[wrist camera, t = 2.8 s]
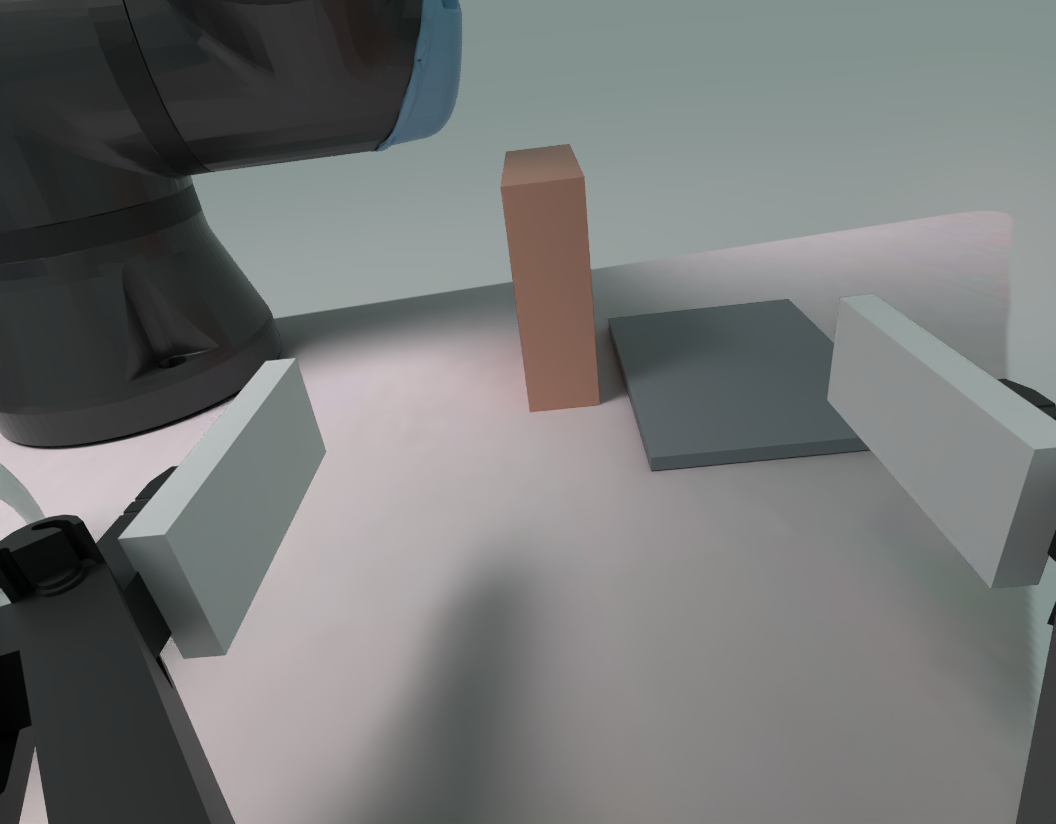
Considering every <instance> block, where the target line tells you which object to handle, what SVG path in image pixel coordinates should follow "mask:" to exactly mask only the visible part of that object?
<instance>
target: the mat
mask: <svg viewBox="0 0 1056 824" xmlns="http://www.w3.org/2000/svg"><path fill="white" fill-rule="evenodd" d="M608 321H609V331H610V334H611V337H612V341H613V344H614V347H615V351H616V354H617V357H618V361H619V364H620V367H621V371H622V374H623V378H624V381H625V384H626V388H627V391H628V394H629V398H630V401H631V404H632V408H633V411H634V415H635V418H636V421H637V425H638V428H639V431H640V435H641V438H642V441H643V445H644V448H645V451H646V455H647V458H648V462H649V465H650V468H651V471H655V470H665V469H675V468H686V467H696V466H706V465H717V464H727V463H737V462H748V461H758V460H768V459H779V458H789V457H799V456H810V455H820V454H830V453H841V452H851V451H861V450H870V449H869V448H868V447H867V445H866V444H865V443H864V442H863V441H862V440H861V438H860V437H859V436H858V435H857V434H856V433H855V432H854V430H853V429H852V428H851V427H850V426H849V425H848V424H847V422H846V421H845V420H844V419H843V418H842V417H841V415H840V414H839V413H838V412H837V411H836V410H835V409H834V407H833V406H832V405H831V404H830V403H829V402H828V400H827V397H828V389H829V381H830V373H831V365H832V357H833V349H834V343H833V342H832V341H831V340H830V339H829V338H828V337H827V336H826V335H825V334H824V333H823V332H821V331H820V330H819V329H818V328H817V327H816V326H815V325H814V324H813V323H812V322H811V321H810V320H809V319H808V318H807V317H806V316H805V315H804V314H803V313H802V312H801V311H800V310H799V309H798V308H797V307H796V306H795V305H794V304H793V303H792V302H791V301H790V300H789V299H784V300H775V301H766V302H757V303H747V304H738V305H729V306H720V307H711V308H702V309H692V310H683V311H674V312H665V313H656V314H647V315H638V316H628V317H619V318H610V319H608Z"/></svg>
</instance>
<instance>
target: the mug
mask: <svg viewBox="0 0 1056 824" xmlns="http://www.w3.org/2000/svg"><path fill="white" fill-rule="evenodd" d="M0 499H1V500H3V501H4V502H5V503H7V504H8V505H10V506H11V507H12V508H14V509H15V510H16V512H17V513H18V514H19V515H20V516H21V517H22V518H23V519H24V520H25V521H26V523H27V524H30V523H33V522H36V521H39V520H42V519H45V516H44V514H43V513H42V511H41V509H40V507H39V506H38V504H37V503H36V501H35V500H34V498H33V497H32V496H31V494H30V493H29V491H28V490H27V489H26V488H25V487H24V485H23V484H22V483H21V482H20V481H19V480H18V479H17V478H16V477H15V476H14V475H13V474H12V473H11V472H10V471H9V470H8V469H7V468H5V467H4V466H3V465H2V464H0ZM10 603H11V602H10V600H9V599H8V598H7V596H6V595H5V593H4V592H0V606H3V605H6V604H10Z"/></svg>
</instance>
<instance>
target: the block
mask: <svg viewBox="0 0 1056 824" xmlns="http://www.w3.org/2000/svg"><path fill="white" fill-rule="evenodd" d="M501 194H502V201H503V209H504V217H505V225H506V232H507V240H508V247H509V255H510V263H511V271H512V278H513V286H514V294H515V301H516V309H517V317H518V324H519V332H520V340H521V347H522V355H523V363H524V370H525V378H526V386H527V393H528V401H529V409H530V412H536V411H546V410H556V409H565V408H575V407H585V406H595V405H600V402H599V387H598V372H597V358H596V343H595V328H594V313H593V299H592V284H591V269H590V254H589V241H588V225H587V210H586V196H585V181H584V175H583V173H582V171H581V169H580V166H579V164H578V162H577V160H576V157H575V155H574V153H573V151H572V148H571V146H570V144H566V145H557V146H549V147H541V148H533V149H525V150H517V151H508V152H506V156H505V162H504V168H503V174H502V181H501Z"/></svg>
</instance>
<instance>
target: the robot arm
mask: <svg viewBox="0 0 1056 824" xmlns="http://www.w3.org/2000/svg"><path fill="white" fill-rule="evenodd" d="M461 53H462V13H461V8H460V4H459V1H458V0H0V433H1V434H2V435H3V436H4V437H5V438H7V439H9V440H11V441H13V442H16V443H20V444H25V445H33V446H64V445H75V444H83V443H89V442H96V441H101V440H106V439H111V438H116V437H120V436H124V435H128V434H132V433H136V432H139V431H143V430H146V429H150V428H153V427H156V426H159V425H162V424H165V423H168V422H171V421H174V420H177V419H179V418H182V417H185V416H187V415H190V414H192V413H195V412H197V411H199V410H202V409H204V408H206V407H208V406H210V405H213V404H215V403H217V402H219V401H221V400H223V399H225V398H226V397H228V396H230V395H232V394H234V393H235V392H237V391H239V390H241V389H242V388H243V389H242V390H241V392H240V393H239V394H238V395H237V396H236V398H235V399H234V400H233V401H232V402H231V404H230V405H229V406H228V407H227V408H226V410H225V411H224V412H223V413H222V414H221V416H220V417H219V418H218V419H217V420H216V422H215V423H214V424H213V425H212V426H211V428H210V429H209V430H208V431H207V432H206V434H205V435H204V436H203V437H202V438H201V440H200V441H199V442H198V443H197V444H196V446H195V447H194V448H193V449H192V450H191V452H190V453H189V454H188V455H187V456H186V458H185V459H184V460H183V461H182V462H181V464H180V465H179V466H173V467H170V468H169V469H167V470H166V471H165V472H163V473H162V474H160V475H159V476H157V477H156V478H155V479H153V480H152V481H150V482H149V483H148V484H147V485H146V487H145V488H144V489H143V490H142V491H141V492H140V494H139V495H138V496H137V497H136V498H135V502H132V503H131V504H130V505H129V506H128V507H127V508H126V510H125V511H124V512H123V513H124V515H121V516H119V518H118V519H117V520H116V521H115V522H114V523H113V525H112V526H111V527H110V528H109V529H108V530H107V531H106V533H105V534H104V535H103V536H102V537H101V538H100V539H99V541H98V542H97V543H95V541H94V540H93V538H92V536H91V534H90V533H89V531H88V529H87V527H86V526H85V524H84V522H83V521H82V520H81V519H80V518H79V517H78V516H73V515H60V516H53V517H48V518H45V519H42V520H39V521H36V522H33V523H30V524H28V525H26V526H24V527H22V528H20V529H18V530H16V531H14V532H13V533H11V534H10V535H8V536H7V537H5V538H4V539H3V540H1V541H0V588H1V589H2V590H3V592H4V593H5V595H6V596H7V598H8V599H9V600H10V602H11V603H10V604H6V605H3V606H0V824H19V821H20V816H21V811H22V806H23V802H24V797H25V792H26V787H27V782H28V777H29V773H30V768H31V763H32V758H33V753H34V748H35V746H36V752H37V758H38V764H39V770H40V776H41V782H42V788H43V794H44V800H45V806H46V811H47V817H48V823H49V824H235V822H234V820H233V817H232V815H231V813H230V811H229V808H228V806H227V804H226V801H225V799H224V797H223V795H222V792H221V790H220V788H219V785H218V783H217V781H216V778H215V776H214V774H213V772H212V769H211V767H210V765H209V762H208V760H207V758H206V756H205V753H204V751H203V749H202V746H201V744H200V742H199V739H198V737H197V735H196V733H195V730H194V728H193V726H192V723H191V721H190V719H189V717H188V714H187V712H186V710H185V707H184V705H183V703H182V701H181V698H180V696H179V694H178V691H177V689H176V687H175V684H174V682H173V680H172V678H171V675H170V673H169V671H168V668H167V666H166V665H165V663H164V661H163V659H162V658H161V656H160V652H161V651H162V649H163V647H164V646H165V644H166V643H167V641H168V639H169V638H170V636H171V637H172V638H173V640H174V642H175V644H176V646H177V647H178V649H179V651H180V653H181V655H182V657H183V658H184V659H186V658H198V657H209V656H221V655H226V653H227V651H228V649H229V647H230V645H231V643H232V641H233V639H234V637H235V635H236V633H237V631H238V629H239V627H240V625H241V623H242V621H243V619H244V617H245V615H246V613H247V611H248V609H249V607H250V605H251V603H252V601H253V599H254V597H255V595H256V592H257V590H258V588H259V586H260V584H261V582H262V580H263V578H264V576H265V574H266V572H267V570H268V568H269V566H270V564H271V562H272V560H273V558H274V556H275V554H276V552H277V550H278V548H279V546H280V544H281V542H282V540H283V538H284V536H285V534H286V532H287V530H288V528H289V526H290V524H291V522H292V520H293V518H294V516H295V514H296V512H297V510H298V508H299V506H300V504H301V502H302V500H303V498H304V495H305V493H306V491H307V489H308V487H309V485H310V483H311V481H312V479H313V477H314V475H315V473H316V471H317V469H318V467H319V465H320V463H321V461H322V459H323V457H324V455H325V453H326V450H325V446H324V443H323V440H322V437H321V434H320V431H319V428H318V425H317V421H316V418H315V415H314V412H313V409H312V406H311V403H310V400H309V397H308V393H307V390H306V387H305V384H304V381H303V378H302V375H301V372H300V368H299V365H298V362H297V359H296V358H290V359H281V360H276V359H277V358H278V356H279V354H280V352H281V347H282V343H281V340H280V337H279V334H278V331H277V328H276V325H275V322H274V319H273V316H272V313H271V311H270V309H269V307H268V306H267V304H266V303H265V302H264V300H263V299H262V298H261V296H260V295H259V293H258V292H257V291H256V290H255V288H254V287H253V286H252V284H251V283H250V281H248V279H247V277H246V276H245V275H244V273H243V272H242V271H241V269H240V268H239V267H238V265H237V264H236V263H235V262H234V260H233V259H232V257H231V256H230V255H229V253H228V252H227V250H226V249H225V248H224V246H223V245H222V244H221V243H220V241H219V240H218V238H217V237H216V236H215V234H214V233H213V232H212V230H211V229H210V227H209V225H208V223H207V221H206V219H205V216H204V213H203V211H202V208H201V205H200V202H199V200H198V197H197V194H196V192H195V189H194V186H193V183H192V179H191V175H195V174H202V173H208V172H216V171H223V170H231V169H238V168H245V167H253V166H261V165H269V164H276V163H284V162H291V161H298V160H307V159H314V158H321V157H330V156H337V155H345V154H351V153H360V152H367V151H371V152H372V151H376V152H377V151H383V150H385V149H387V148H389V147H390V146H391V145H396V144H400V143H405V142H409V141H414V140H418V139H423V138H427V137H430V136H432V135H434V134H436V133H437V132H439V131H440V130H441V129H442V128H443V127H444V126H445V124H446V123H447V122H448V120H449V118H450V117H451V114H452V112H453V109H454V106H455V103H456V99H457V95H458V89H459V81H460V71H461ZM827 400H828V402H829V403H830V404H831V405H832V406H833V407H834V409H835V410H836V411H837V412H838V413H839V414H840V415H841V417H842V418H843V419H844V420H845V421H846V422H847V424H848V425H849V426H850V427H851V428H852V429H853V430H854V432H855V433H856V434H857V435H858V436H859V437H860V438H861V440H862V441H863V442H864V443H865V444H866V445H867V447H868V448H869V449H870V450H871V451H872V452H873V453H874V455H875V456H876V457H877V458H878V459H879V460H880V462H881V463H882V464H883V465H884V466H885V467H886V468H887V470H888V471H889V472H890V473H891V474H892V475H893V477H894V478H895V479H896V480H897V481H898V482H899V483H900V485H901V486H902V487H903V488H904V489H905V490H906V492H907V493H908V494H909V495H910V496H911V497H912V498H913V500H914V501H915V502H916V503H917V504H918V505H919V506H920V508H921V509H922V510H923V511H924V512H925V513H926V515H927V516H928V517H929V518H930V519H931V520H932V521H933V523H934V524H935V525H936V526H937V527H938V528H939V530H940V531H941V532H942V533H943V534H944V535H945V536H946V538H947V539H948V540H949V541H950V542H951V543H952V545H953V546H954V547H955V548H956V549H957V550H958V551H959V553H960V554H961V555H962V556H963V557H964V558H965V560H966V561H967V562H968V563H969V564H970V565H971V566H972V568H973V569H974V570H975V571H976V572H977V573H978V574H979V576H980V577H981V578H982V579H983V580H984V581H985V583H986V584H987V585H988V586H989V587H990V588H991V589H992V588H1004V587H1015V586H1027V585H1038V584H1039V581H1040V579H1041V576H1042V573H1043V571H1044V568H1045V565H1046V562H1047V560H1048V557H1049V556H1050V557H1051V558H1052V559H1053V560H1055V561H1056V406H1055V403H1053V402H1052V401H1050V400H1049V399H1047V398H1046V397H1044V396H1043V395H1041V394H1040V393H1038V392H1037V391H1035V390H1033V389H1031V388H1028V387H1025V386H1023V385H1020V384H1017V383H1015V382H1012V381H1009V380H1007V379H998V380H997V379H995V378H994V377H992V376H991V375H989V374H988V373H986V372H985V371H984V370H982V369H981V368H979V367H978V366H976V365H975V364H974V363H972V362H971V361H969V360H968V359H966V358H965V357H963V356H962V355H961V354H959V353H958V352H956V351H955V350H953V349H952V348H951V347H949V346H948V345H946V344H945V343H943V342H942V341H940V340H939V339H938V338H936V337H935V336H933V335H932V334H930V333H929V332H928V331H926V330H925V329H923V328H922V327H920V326H919V325H917V324H916V323H915V322H913V321H912V320H910V319H909V318H907V317H906V316H904V315H903V314H902V313H900V312H899V311H897V310H896V309H894V308H893V307H892V306H890V305H889V304H887V303H886V302H884V301H883V300H881V299H880V298H879V297H877V296H876V295H874V294H866V295H857V296H848V297H840V300H839V308H838V316H837V324H836V332H835V341H834V349H833V357H832V365H831V373H830V381H829V389H828V397H827ZM1047 624H1050V625H1053V632H1052V637H1051V642H1050V647H1049V653H1048V657H1047V663H1046V668H1045V673H1044V678H1043V684H1042V689H1041V694H1040V699H1039V705H1038V710H1037V715H1036V720H1035V726H1034V731H1033V736H1032V742H1031V747H1030V752H1029V757H1028V763H1027V768H1026V773H1025V778H1024V784H1023V789H1022V794H1021V799H1020V805H1019V810H1018V815H1017V820H1016V824H1056V602H1055V605H1054V608H1053V610H1052V613H1051V615H1050V618H1049V620H1048V623H1047Z"/></svg>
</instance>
